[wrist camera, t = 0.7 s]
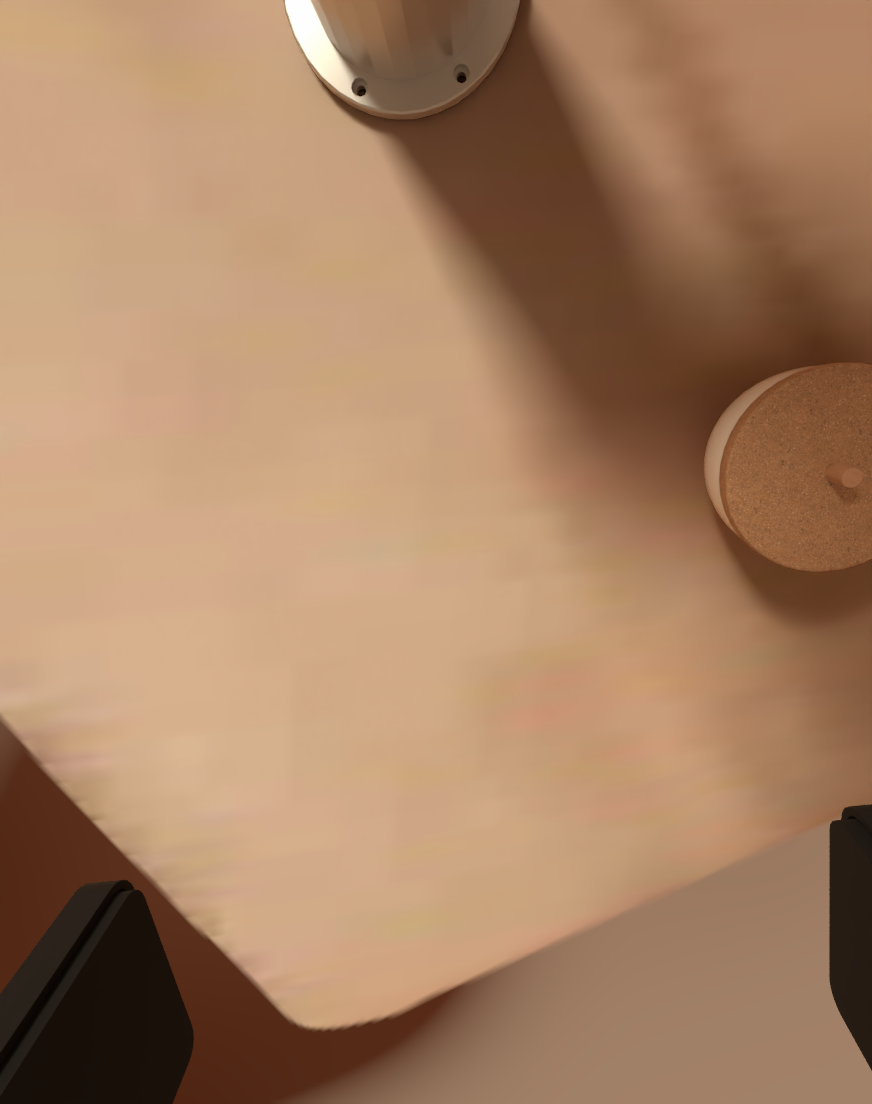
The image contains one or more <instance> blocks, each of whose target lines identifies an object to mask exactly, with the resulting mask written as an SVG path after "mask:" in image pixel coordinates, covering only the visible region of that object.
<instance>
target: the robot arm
mask: <svg viewBox="0 0 872 1104" xmlns="http://www.w3.org/2000/svg"><path fill="white" fill-rule="evenodd" d="M519 4H520V0H284V6H285V11H286V15H287V18H288V21H289V24H290V26H291V29H292V32H293V35H294V38H295V40H296V42H297V44H298V46H299V48H300V50H301V52H302V54H303V55H304V57H305V59H306V60H307V62H308V63H309V65H310V66H311V68H312V69H313V71H314V72H315V74H316V75H317V77H318V78H319V79H320V80H321V81H322V82H323V83H324V84H325V85H326V86H327V87H328V88H329V89H330V90H331V91H332V92H333V93H334V94H335V95H336V96H338V97H339V98H341V99H342V100H343V101H345V102H346V103H348V104H349V105H351V106H352V107H354V108H357V109H359V110H361V111H363V112H366V113H368V114H370V115H373V116H378V117H383V118H388V119H393V120H394V119H417V118H421V117H425V116H430V115H434V114H437V113H439V112H441V111H443V110H445V109H447V108H449V107H451V106H453V105H456V104H457V103H458V102H460V101H461V100H462V99H464V98H465V97H466V96H468V95H469V94H470V93H472V92H473V91H474V90H475V89H476V88H477V87H478V86H479V85H480V84H481V83H482V81H483V80H484V79H485V78H486V77H487V76H488V75H489V74H490V73H491V71H492V70H493V68H494V66H495V65H496V63H497V62H498V60H499V58H500V57H501V55H502V54H503V52H504V50H505V48H506V45H507V43H508V40H509V38H510V35H511V33H512V31H513V28H514V25H515V21H516V17H517V12H518V8H519ZM459 76H465V77H466V81H465V82H464V83H459V82H458V81H457V79H458V77H459ZM360 89H365V90H366V94H365V95H363V96H361V97H359V96H358V92H359V90H360ZM830 985H831V990H832V994H833V997H834V1000H835V1002H836V1005H837V1007H838V1010H839V1012H840V1014H841V1016H842V1018H843V1019H844V1021H845V1023H846V1025H847V1027H848V1029H849V1030H850V1032H851V1034H852V1036H853V1038H854V1039H855V1041H856V1043H857V1045H858V1047H859V1048H860V1050H861V1052H862V1054H863V1056H864V1057H865V1059H866V1061H867V1063H868V1065H869V1066H870V1068H871V1070H872V804H871V805H861V806H851V807H846V808H845V809H844V810H843V812H842V818H841V820H836V821H832V823H831V824H830ZM193 1040H194V1036H193V1028H192V1025H191V1022H190V1019H189V1016H188V1014H187V1011H186V1008H185V1006H184V1003H183V1000H182V998H181V995H180V992H179V989H178V987H177V984H176V981H175V978H174V976H173V973H172V970H171V967H170V965H169V962H168V959H167V957H166V954H165V951H164V948H163V946H162V943H161V940H160V937H159V935H158V932H157V930H156V927H155V924H154V921H153V918H152V916H151V913H150V910H149V908H148V905H147V902H146V899H145V897H144V895H143V893H142V892H141V891H139V890H135V889H134V887H133V886H132V884H131V883H130V882H128V881H127V880H119V881H109V882H99V883H89V884H85V885H83V886H82V887H80V888H79V889H78V890H77V891H76V892H75V893H74V895H73V896H72V898H71V899H70V900H69V902H68V903H67V904H66V906H65V907H64V909H63V910H62V911H61V913H60V914H59V915H58V917H57V918H56V920H55V921H54V922H53V923H52V925H51V926H50V927H49V929H48V930H47V932H46V933H45V934H44V936H43V937H42V938H41V940H40V941H39V943H38V944H37V945H36V946H35V948H34V949H33V951H32V952H31V953H30V955H29V956H28V957H27V959H26V960H25V961H24V963H23V964H22V965H21V967H20V968H19V969H18V971H17V972H16V974H15V975H14V977H13V978H12V979H11V980H10V982H9V983H8V984H7V986H6V987H5V988H4V990H3V991H2V993H1V994H0V1104H172V1103H173V1101H174V1098H175V1096H176V1093H177V1091H178V1088H179V1086H180V1083H181V1081H182V1078H183V1076H184V1073H185V1071H186V1068H187V1066H188V1063H189V1061H190V1057H191V1054H192V1049H193Z"/></svg>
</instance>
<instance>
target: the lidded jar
mask: <svg viewBox="0 0 872 1104" xmlns="http://www.w3.org/2000/svg"><path fill="white" fill-rule="evenodd" d="M704 478H705V484H706V488H707V491H708V494H709V497H710V499H711V501H712V503H713V506H714V508H715V510H716V511H717V513H718V514H719V516H720V517H721V518H722V520H723V521H724V522H725V524H726V525H727V526H728V527H729V528H730V529H731V530H732V531H733V532H734V533H735V534H736V535H737V536H738V537H740V538H741V539H742V540H743V541H744V542H745V543H746V544H747V545H748V546H749V547H750V548H752V549H753V550H754V551H756V552H757V553H759V554H760V555H761V556H763V557H764V558H766V559H768V560H770V561H772V562H774V563H776V564H778V565H780V566H784V567H787V568H790V569H794V570H800V571H807V572H829V571H835V570H842V569H846V568H849V567H853V566H856V565H859V564H862V563H864V562H866V561H869V560H871V559H872V364H865V363H857V362H846V363H829V364H824V365H817V366H808V367H802V368H797V369H792V370H789V371H785V372H782V373H779V374H777V375H774V376H771V377H769V378H767V379H765V380H763V381H761V382H759V383H758V384H756V385H754V386H752V387H751V388H749V389H748V390H746V391H745V392H744V393H742V394H741V395H739V396H738V397H737V398H736V399H735V400H734V401H733V402H732V403H731V404H730V405H729V406H728V407H727V409H726V410H725V411H724V412H723V414H722V415H721V416H720V418H719V420H718V421H717V423H716V425H715V426H714V428H713V430H712V433H711V435H710V438H709V440H708V443H707V447H706V451H705V457H704Z"/></svg>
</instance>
